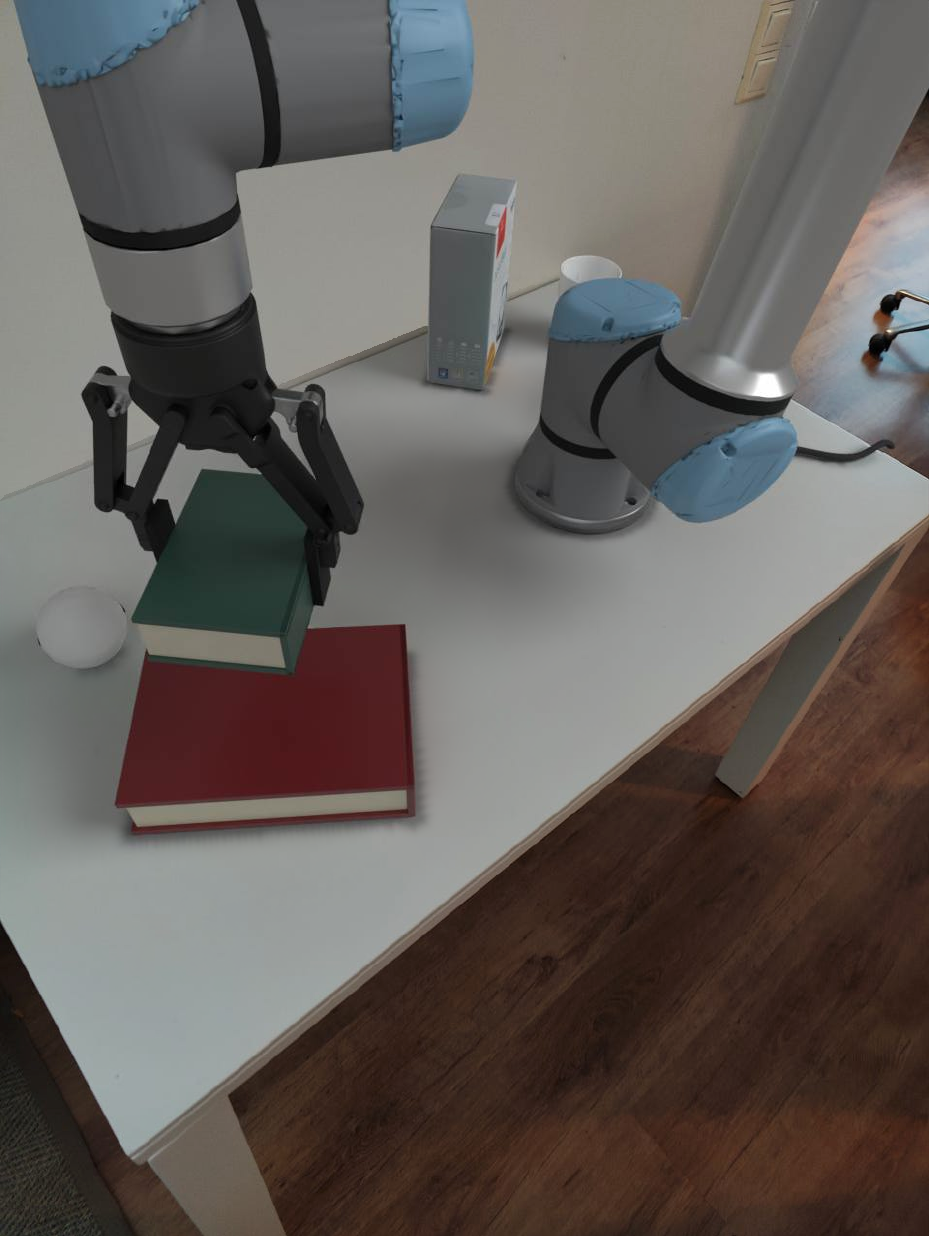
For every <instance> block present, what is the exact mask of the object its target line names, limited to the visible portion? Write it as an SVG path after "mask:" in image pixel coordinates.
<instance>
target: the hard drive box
mask: <svg viewBox="0 0 929 1236" xmlns="http://www.w3.org/2000/svg"><path fill="white" fill-rule="evenodd" d="M517 187H518V180H515V179H508V178H502V177H492V176H485V175H475V174H467V173H462V172H461V173H460V172H459V173H458V174H457V175H456V177H455V179H454V180H453V183H452V184H451V186H450V188H449V190H448V193H447V194H446V195H445V198H444V200H443V201H442V203H441V205H440V207H439V208H438V209H437V212H436V214H435V216H434V218H433V220H432V222H431V224H430V228H429V231H430V232H429V269H428V270H429V274H428V315H427V316H428V318H427V357H426V359H427V362H426V365H427V366H426V381H427V382H429V383H432V384H433V383H434V384H438V385H439V384H440V385H447V386H451V387H460V388H467V389H472V390H479V391H484V390H485V388H486V385H487V382H488V379H489V377H490V373H491V371H492V368H493V364H494V361H495V359H496V356H497V352H498V350H499V347H500V343H501V341H502V337H503V335H504V332H505V323H506V313H507V301H508V289H509V279H510V278H509V276H510V266H511V252H512V243H513V230H514V221H515V220H514V218H515V208H516V207H515V206H516V199H517V198H516V196H517Z"/></svg>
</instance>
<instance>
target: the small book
mask: <svg viewBox="0 0 929 1236" xmlns="http://www.w3.org/2000/svg"><path fill="white" fill-rule="evenodd" d="M316 481H317V480H316ZM181 509H182V510H181V511H180V514H179V516H178V518H177V520H176V521H175V526H174V528H173V531H172V533H171V535H170V537H169V539H168V541H167V543H166V545H165V547H164V550H163V552H162V554H161V556H160V558H159V560H158V562H156V564H155V566H154V569H153V571H152V573H151V575H150V577H149V579H148V582H147V584H146V586H145V588H144V590H143V592H142V594H141V596H140V598H139V600H138V603H137V604H136V607H135V609H134V611H133V613H132V615H131V617H130V620H131V623H132V624H135V625H136V626H137V628H138V631H139V633H140V636H141V638H142V641H143V643H144V645H145V649H146V648H147V650H148V653H149V654H148V656H147V658H148V661H151V662H161V663H171V664H181V665H191V666H201V667H211V668H221V669H232V670H242V671H252V672H262V673H272V674H282V675H291V676H294V674H295V671H296V667H297V664H298V660H299V657H300V653H301V650H302V646H303V643H304V639H305V636H306V632H307V629H309V624H310V622H311V618H312V614H313V611H314V607H315V605H313V600H312V593H311V587H310V580H309V574H308V567H307V561H306V555H305V548H304V542H303V540H304V536H305V533H306V530H307V526H306V525H305V523H304V522H303V521H302V520H301V519H300V518H299V517H298V515H297V514H296V513H295V512H294V511H293V510H292V509H291V507H290V506H289V505H288V504H287V503H286V502H285V500H284V499H283V498H282V497H281V496H280V495H279V494H278V492H277V491H276V490H275V489H274V488H273V487H272V485H271V484H270V483H269V482H268V481H267V480H266V479H265V477H264V476H263V475H262V474H261V473H253V472H252V473H251V472H242V471H241V472H240V471H232V470H231V471H229V470H220V469H210V468H209V469H208V468H201V469H200V471H199V473H198V475H197V477H196V480H195V482H194V484H193V486H192V488H191V490H190V493H189V494H188V496H187V499H186V501H185V503H184V505H183V507H182V508H181Z"/></svg>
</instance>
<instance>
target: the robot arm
mask: <svg viewBox="0 0 929 1236" xmlns="http://www.w3.org/2000/svg"><path fill="white" fill-rule="evenodd" d="M13 3H14V4H13V5H14V7H15V11H16V14H17V19H18V22H19V27H20V30H21V33H22V38H23V41H24V45H25V49H26V52H27V59H26V60H27V62H28V65H29V67H30V69H31V73H32V77H33V80H34V82H35V86H36V89H37V91H38V95H39V98H40V100H41V104H42V106H43V110H44V113H45V116H46V119H47V122H48V125H49V128H50V131H51V134H52V138H53V140H54V144H55V146H56V149H57V152H58V156H59V159H60V161H61V165H62V168H63V172H64V174H65V178H66V180H67V183H68V186H69V190H70V192H71V196H72V199H73V200H74V205H75V208H76V210H77V214H78V216H79V220H80V223H81V226H82V231H83V234H84V237H85V241H86V245H87V247H88V251H89V254H90V257H91V261H92V264H93V267H94V271H95V274H96V277H97V281H98V285H99V287H100V292H101V294H102V298H103V300H104V303H105V305H106V306H107V307H108V308H109V310H110V322H111V325H112V327H113V331H114V334H115V337H116V341H117V343H118V347H119V350H120V354H121V357H122V361H123V364H124V367H125V370H126V372H127V374H128V375H118V374H117V372H116V370H114V369H113V368H112V367H110V366H107V365H100V366H99V367H98V368H97V369H96V370H95V372H94V373H93V375H92V376H91V378H90V379H89V381H88V382H87V383H86V385H85V386H84V388H83V389H82V391H81V393H80V396H81V399H82V402H83V404H84V406H85V408H86V411H87V413H88V415H89V417H90V420H91V422H92V457H93V458H92V459H93V460H92V461H93V462H92V463H93V464H92V465H93V504H94V506H95V508H96V509H97V510H98V511H100V512H102V513H107V514H109V513H111V512H113V510H114V511H117V512H119V513H122V514H124V516H125V518H126V519H127V520H129V521H130V522H131V525H132V527H133V531H134V533H135V535H136V538H137V541H138V544H139V546H140V548H142V550H143V551H145V552H152V554H153V557H154V559H155V562H156V563H157V562H158V560H159V558H160V556H161V554H162V552H163V550H164V547H165V545H166V543H167V541H168V539H169V537H170V535H171V533H172V531H173V528H174V526H175V524H176V521H175V518H174V514H173V511H172V508H171V505H170V502H169V499H167V498H156V500H155V502H154V498H155V496H156V494H157V492H158V491H159V487H160V485H161V483H162V481H163V478H164V476H165V474H166V472H167V470H168V467H169V465H170V463H171V461H172V459H173V456H174V454H175V452H176V449H177V447H178V445H179V444H181V445H183V446H184V447H185V450H187V451H205V450H213V451H217V452H219V453H223V454H231V455H232V454H233V455H238V457H239V458H240V459H241V460H242V461H243V462H244V463H245V465H246V466H247V467H248V468H249V469H256V470H257V471H258V472H259V474H262V475H263V476H264V477H265V479H266V480H267V481H268V482H269V483H270V484H271V485H272V487H273V488H274V489H275V490H276V491H277V492H278V494H279V495H280V496H281V497H282V498H283V499H284V500H285V502H286V503H287V504H288V505H289V506H290V507H291V509H292V510H293V511H294V512H295V513H296V514H297V515H298V517H299V518H300V519H301V520H302V521H303V522H304V523H305V525H306V526H307V530H306V533H305V536H304V540H303V542H304V548H305V555H306V561H307V567H308V574H309V580H310V587H311V593H312V600H313V605H314V606H316V607H317V606H318V607H325V603H326V599H327V597H328V596H327V595H328V592H329V588H330V584H331V581H332V575H331V569H336V566H337V565H338V561H339V558H340V554H341V551H342V547H341V538H340V533H341V532H342V533H343V534H345V535H349V536H353V535H355V534H357V533H358V531H359V527H360V525H361V520H362V516H363V513H364V508H365V502H364V499H363V497H362V494H361V493H360V491H359V488H358V486H357V484H356V482H355V481H356V480H355V478H354V477H353V474H352V472H351V470H350V468H349V466H348V464H347V461H346V459H345V457H344V454H343V451H342V450H341V447H340V445H339V443H338V440H337V439H336V436H335V434H334V432H333V430H332V426H331V425H330V423H329V420H328V418H327V402H326V401H327V400H326V399H327V398H326V391H325V389H324V388H323V387H322V386H321V385H320V384H317V383H310V384H307V385H306V387H305V389H304V391H298V390H292V389H286V388H285V389H284V388H279V387H278V386H277V384H276V383H275V381H274V379H272V377H271V376H270V374H269V371H268V369H267V364H266V354H265V348H264V342H263V336H262V329H261V323H260V317H259V312H258V306H257V301H256V297H255V296H254V294H253V293H252V290H253V279H252V272H251V266H250V259H249V254H248V248H247V242H246V241H247V239H246V234H245V229H244V222H243V221H244V220H243V216H242V215H243V214H242V211H241V210H242V209H241V203H240V198H239V193H238V183H237V173H240V172H243V171H248V170H254V169H255V170H260V169H265V168H273V167H276V166H277V167H278V166H283V165H290V164H298V163H304V162H312V161H319V160H327V159H333V158H342V157H347V156H355V155H356V156H357V155H362V154H370V153H371V154H372V153H377V152H385V151H390V150H391V151H392V153H398V152H400V151H401V150H402V149H404V148H408V147H412V146H416V145H420V144H424V143H428V142H432V141H436V140H440V139H445V138H446V137H448V136H450V135H451V134H453V133H454V132H455V131H457V129H458V128H459V127H460V126H461V124H462V122H463V120H464V118H465V116H466V114H467V111H468V109H469V106H470V102H471V99H472V94H473V88H474V75H475V74H474V71H475V43H474V36H473V35H474V34H473V27H472V21H471V17H470V13H469V9H468V6H467V3H466V0H13ZM928 91H929V0H817V3H816V5H815V8H814V10H813V13H812V15H811V17H810V19H809V22H808V25H807V27H806V30H805V32H804V35H803V38H802V39H801V42H800V45H799V47H798V50H797V52H796V54H795V57H794V60H793V62H792V64H791V67H790V70H789V71H788V74H787V77H786V79H785V82H784V85H783V87H782V89H781V92H780V94H779V97H778V99H777V102H776V104H775V107H774V109H773V112H772V114H771V116H770V119H769V122H768V124H767V127H766V129H765V131H764V134H763V137H762V139H761V141H760V144H759V146H758V149H757V151H756V153H755V155H754V158H753V161H752V163H751V166H750V169H749V171H748V174H747V176H746V179H745V181H744V183H743V185H742V188H741V190H740V193H739V196H738V198H737V200H736V204H735V206H734V209H733V210H732V213H731V215H730V218H729V221H728V223H727V225H726V228H725V230H724V232H723V234H722V235H723V236H722V237H721V240H720V242H719V245H718V248H717V250H716V252H715V254H714V258H713V260H712V263H711V265H710V268H709V270H708V273H707V276H706V278H705V279H704V282H703V285H702V287H701V290H700V291H699V294H698V296H697V299H696V302H695V305H694V307H693V309H692V312H691V314H690V317H689V318H690V319H689V320H688V321H687V322H684V323H682V324H680V325H678V324H679V322H680V321H681V318H682V317H683V316H682V313H681V311H682V303H681V300H680V298H679V297H678V296H677V294H676V293H674V291H672V290H671V289H670V288H667V287H665V286H663V285H660V284H658V283H655V282H653V281H648V280H644V279H637V278H629V277H628V278H626V277H621V278H603V279H596V280H591V281H586V282H583V283H580V284H577V285H575V286H573V287H571V288H569V289H568V290H567V291H565V292H564V293H563V294H562V295H561V296H560V298H559V300H558V299H557V301H556V302H555V304H554V309H553V313H552V318H551V322H550V326H549V328H548V330H547V337H548V343H547V351H546V352H547V353H546V360H545V369H544V378H543V386H542V394H541V401H540V411H539V418H538V422H537V424H536V426H535V428H534V429H533V432H532V433H531V435H530V436H529V438H528V439H527V441H526V442H525V445H524V446H523V447H522V449H521V453H520V456H519V457H518V459H517V463H516V469H515V476H514V477H515V479H514V487H515V492H516V494H517V497H518V499H519V500H520V502H521V504H522V505H523V506H524V507H525V508H526V510H527V511H529V513H531V514H532V515H533V516H535V517H536V518H537V519H539V520H541V521H542V522H544V523H546V524H548V525H550V526H552V527H555V528H558V529H561V530H564V531H567V532H572V533H573V532H574V533H578V534H579V533H580V534H604V533H610V532H611V533H612V532H614V531H615V532H616V531H619V530H622V529H625V528H626V527H629V526H630V525H632V524H634V523H635V522H637V521H638V520H639V519H640V518H641V517H642V516H643V515H644V514H645V513H646V511H647V510H648V508H649V505H650V502H651V500H652V499H653V500H654V501H656V502H658V503H661V504H662V505H663V506H664V507H665V508H666V509H668V510H669V511H670V512H671V513H672V514H673V515H674V516H676V517H677V518H678V519H680V520H682V521H683V522H687V523H691V524H704V523H709V522H715V521H718V520H721V519H724V518H726V517H729V516H731V515H732V514H735V513H736V512H738V511H740V510H741V509H743V508H745V507H746V506H747V505H749V504H750V503H752V502H754V501H755V500H756V499H758V498H759V497H760V496H761V495H763V494H764V493H765V492H767V490H769V489H770V488H771V487H772V486H773V485H774V484H775V483H776V482H777V481H778V480H779V478H780V477H781V476H782V475H783V474H784V472H785V471H786V470H787V468H788V467H789V466H790V464H791V462H792V460H793V459H794V457H795V455H796V454H799V455H806V456H810V457H814V458H819V459H825V460H831V461H843V462H846V461H849V462H850V461H856V460H857V461H858V460H861V459H863V458H865V457H868V456H871V454H874V453H875V452H877V451H878V450H880V449H882V448H884V447H886V448H887V449H889V450H894V449H895V448H896V444H895V443H894V442H893V441H892V440H890V439H887V438H885V439H880V440H879V441H877V442H875V443H874V444H872V445H870V446H869V447H867V448H864V449H863V450H861V451H858V452H852V453H837V452H829V451H824V450H818V449H814V448H810V447H805V446H799V445H798V444H799V440H798V432H797V431H796V429H795V428H794V424H793V423H791V420H789V418H787V419H786V418H784V414H785V412H786V410H787V408H788V406H789V404H790V402H791V400H792V398H793V396H794V395H795V393H796V390H797V388H798V385H799V376H798V374H797V371H796V369H795V366H794V364H793V361H792V357H793V355H794V352H795V350H796V349H797V347H798V344H799V343H800V341H801V339H802V337H803V335H804V333H805V331H806V329H807V327H808V325H809V323H810V321H811V320H812V317H813V316H814V313H815V311H816V309H817V308H818V305H819V303H820V302H821V300H822V297H823V296H824V294H825V292H826V290H827V288H828V286H829V284H830V282H831V280H832V279H833V276H834V275H835V272H836V270H837V269H838V266H839V265H840V263H841V260H843V259H842V258H843V257H844V254H845V253H846V251H847V249H848V247H849V245H850V243H851V241H852V239H853V237H854V235H855V233H856V231H857V230H858V227H859V225H860V223H861V222H862V219H863V218H864V216H865V213H866V211H867V210H868V208H869V206H870V204H871V202H872V200H873V198H874V196H875V194H876V192H877V190H878V188H879V186H880V184H881V183H882V181H883V179H884V177H885V176H886V175H885V174H886V173H887V171H888V168H889V167H890V165H891V163H892V161H893V159H894V157H895V155H896V153H897V152H898V149H899V147H900V146H901V143H902V141H903V139H904V138H905V136H906V134H907V132H908V129H909V128H910V126H911V124H912V122H913V120H914V118H915V116H916V114H917V112H918V111H919V109H920V107H921V105H922V102H923V100H924V98H925V97H926V95H927V93H928ZM132 402H133V403H134V405H135V406H137V407H138V408H139V409H140V410H141V411H142V412H143V413H144V414H145V415H146V416H147V417H149V419H151V420H152V421H153V422H154V423H155V424H156V425H157V426H158V430H157V432H156V434H155V436H154V439H153V441H152V444H151V445H150V448H149V452H148V455H147V457H146V459H145V462H144V464H143V466H142V469H141V471H140V474H139V476H138V478H137V481H136V483H135V484H134V485H135V486H132V485H129V484H127V471H128V469H127V468H128V467H127V465H128V464H127V463H128V420H129V418H128V417H129V416H128V415H129V413H128V412H129V411H128V410H129V408H130V406H131V404H132ZM274 412H275V413H278V414H280V415H281V416H283V417H284V419H285V421H286V423H287V425H288V430H289V431H290V432H291V433H294V434H297V441H298V444H299V446H300V450H301V451H302V453H303V456H304V458H305V460H306V462H307V464H308V466H309V468H310V471H311V472H312V473H311V472H310V471H309V470H308V468H307V467H306V466H305V465H304V463H303V462H302V461H301V460H300V458H299V457H298V456H297V455H296V453H295V452H294V451H293V450H292V448H291V447H290V446H289V445H288V444H287V442H286V441H285V440H284V439H283V437H282V435H281V429H280V427H279V426H278V424H277V423H276V422H275V421H274V419H273V418H272V417H271V416H272V415H273V414H274ZM316 480H317V481H316ZM651 497H652V498H651Z"/></svg>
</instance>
